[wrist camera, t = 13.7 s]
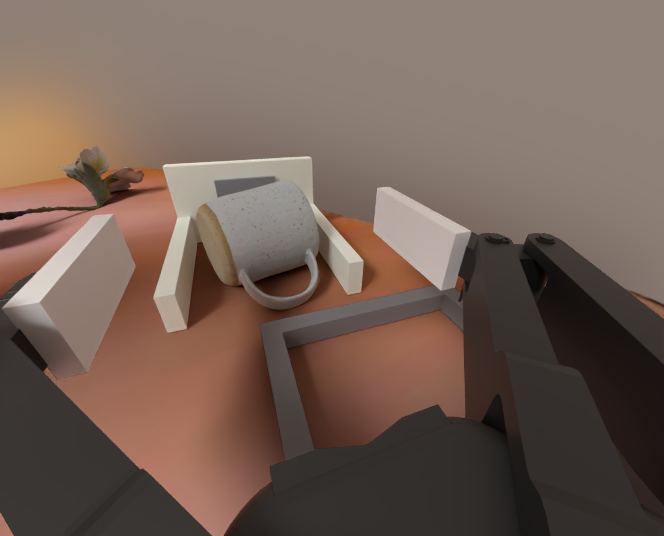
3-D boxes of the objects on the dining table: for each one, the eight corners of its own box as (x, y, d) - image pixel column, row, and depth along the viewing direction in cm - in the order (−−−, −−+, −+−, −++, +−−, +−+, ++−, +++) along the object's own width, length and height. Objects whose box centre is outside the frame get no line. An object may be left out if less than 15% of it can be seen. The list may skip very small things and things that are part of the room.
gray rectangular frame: (375, 936, 5) (383, 973, 5) (262, 340, 19) (259, 323, 18) (756, 578, 10) (795, 565, 9) (443, 297, 23) (447, 282, 22)
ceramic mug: (204, 267, 26) (182, 185, 22) (282, 243, 31) (275, 171, 27) (251, 334, 19) (232, 233, 15) (343, 291, 24) (347, 203, 20)
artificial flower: (-58, 259, 30) (-131, 162, 27) (133, 212, 50) (105, 152, 46) (-19, 250, 27) (-95, 139, 24) (169, 203, 47) (142, 139, 43)
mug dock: (167, 332, 19) (122, 222, 15) (186, 239, 31) (164, 164, 27) (361, 292, 23) (368, 197, 19) (311, 223, 35) (309, 156, 31)
